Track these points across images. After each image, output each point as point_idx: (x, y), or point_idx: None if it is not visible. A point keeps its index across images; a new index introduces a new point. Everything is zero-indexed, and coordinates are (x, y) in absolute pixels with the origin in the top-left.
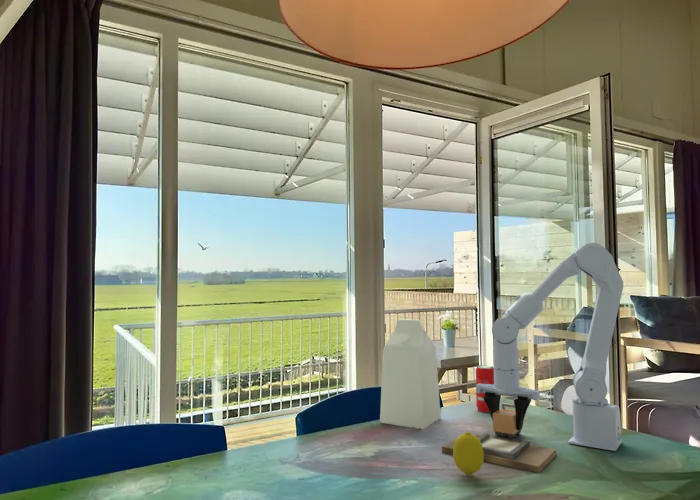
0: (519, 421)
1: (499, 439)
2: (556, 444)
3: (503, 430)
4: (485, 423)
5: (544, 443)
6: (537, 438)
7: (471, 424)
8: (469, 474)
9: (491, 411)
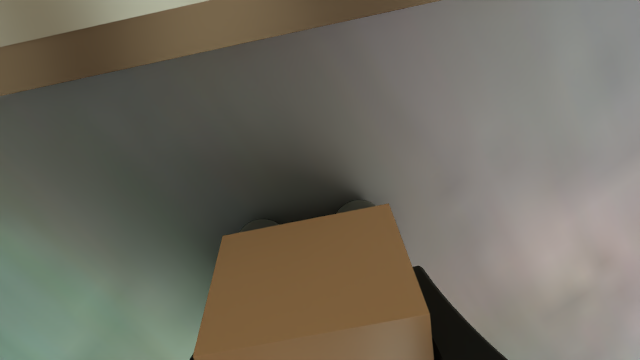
0: (192, 357)
1: (201, 30)
2: (9, 313)
3: (302, 230)
4: (544, 347)
5: (61, 284)
6: (160, 327)
7: (617, 285)
8: None
9: (474, 353)
